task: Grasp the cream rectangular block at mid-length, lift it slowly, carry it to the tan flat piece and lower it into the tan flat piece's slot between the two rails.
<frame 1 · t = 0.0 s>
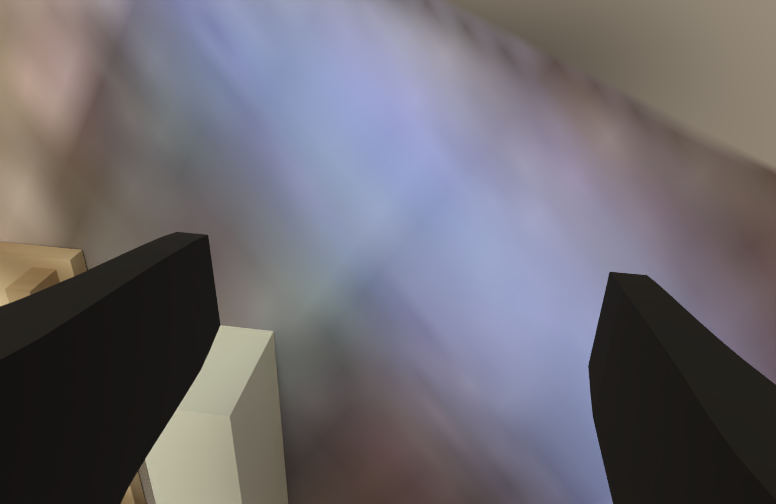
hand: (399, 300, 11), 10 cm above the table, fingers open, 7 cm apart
tan flat piece: (32, 383, 29), on the table
cream rectangular block: (246, 431, 29), on the table
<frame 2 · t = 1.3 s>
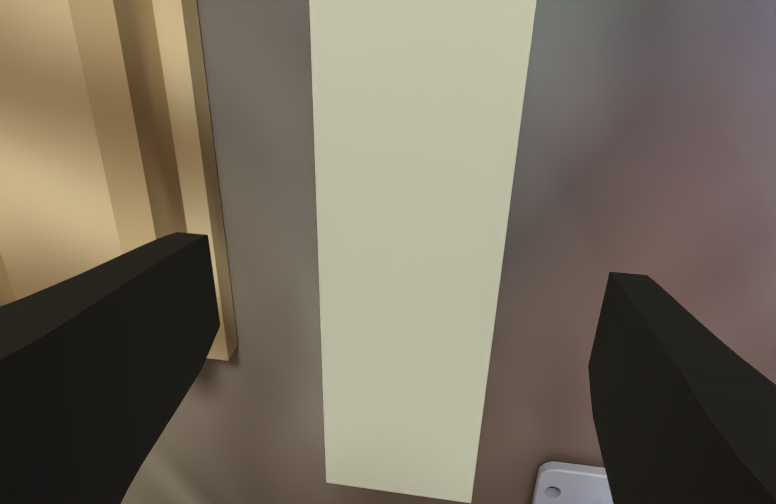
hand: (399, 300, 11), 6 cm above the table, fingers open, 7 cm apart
tan flat piece: (59, 102, 17), on the table
cream rectangular block: (431, 180, 16), on the table
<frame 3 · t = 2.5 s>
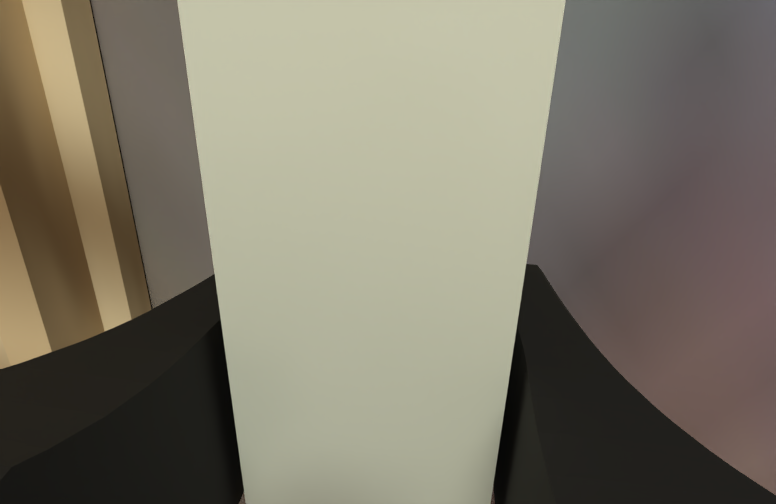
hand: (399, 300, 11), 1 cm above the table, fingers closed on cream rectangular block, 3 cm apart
cream rectangular block: (408, 259, 13), on the table, touching gripper
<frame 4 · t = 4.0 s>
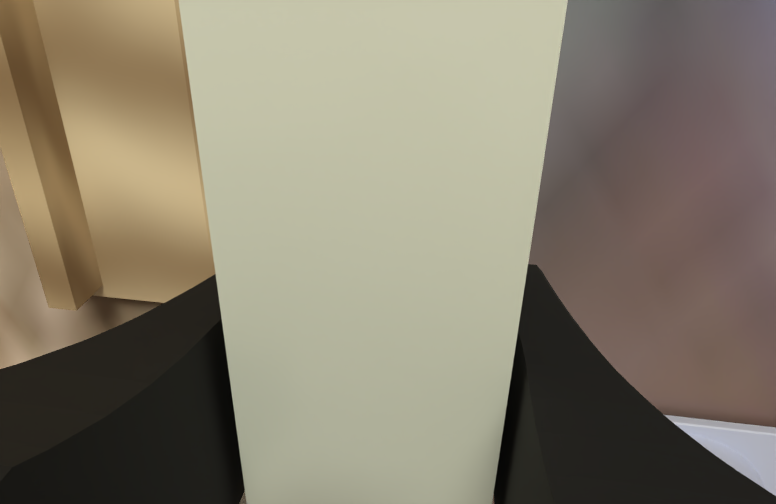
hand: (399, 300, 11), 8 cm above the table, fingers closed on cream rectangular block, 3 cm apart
tan flat piece: (145, 84, 19), on the table
cream rectangular block: (409, 259, 13), point 7 cm above the table, touching gripper
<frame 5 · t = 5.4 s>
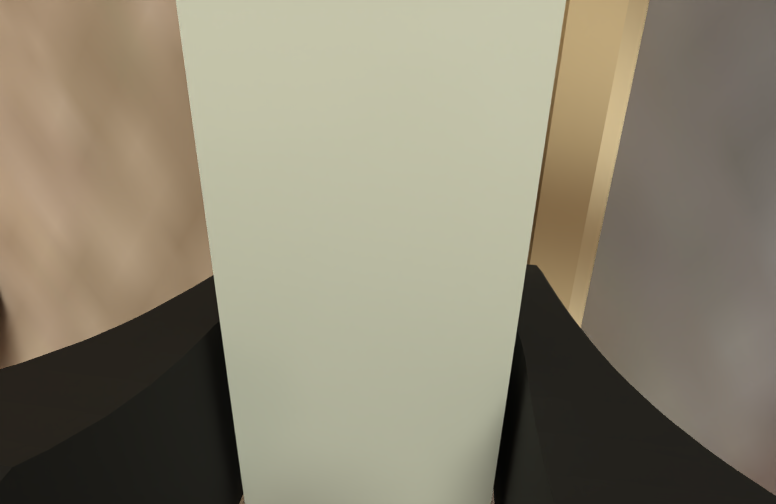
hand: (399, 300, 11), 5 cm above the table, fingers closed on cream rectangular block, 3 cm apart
tan flat piece: (428, 187, 16), on the table
cream rectangular block: (408, 258, 13), point 4 cm above the table, touching gripper
when the fingers open (4 cm above the table, at t = 6.0 s): cream rectangular block drops 2 cm, resting on tan flat piece.
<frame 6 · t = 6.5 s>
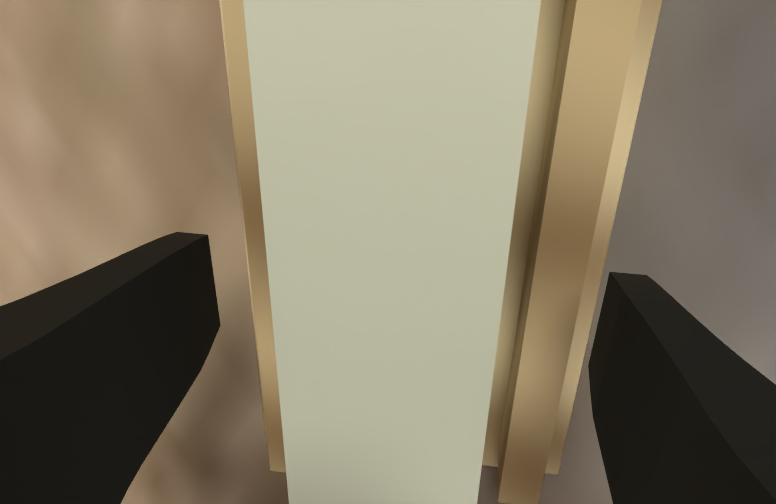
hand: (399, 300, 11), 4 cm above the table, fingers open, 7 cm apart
tan flat piece: (422, 204, 15), on the table
cream rectangular block: (417, 216, 14), point 1 cm above the table, touching tan flat piece
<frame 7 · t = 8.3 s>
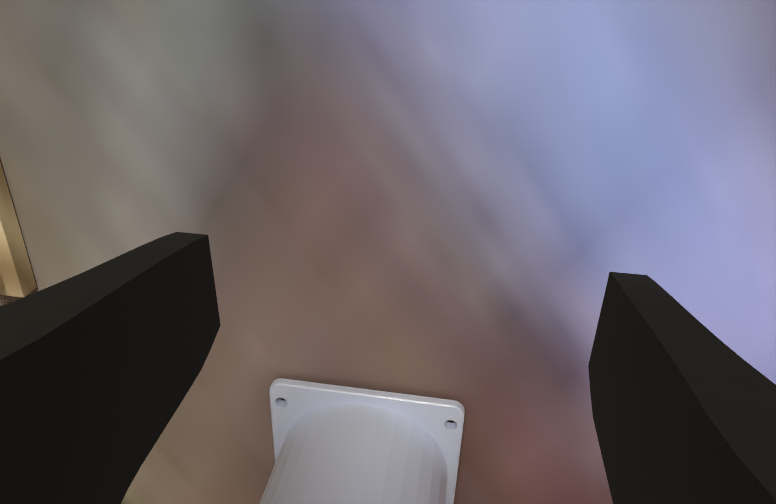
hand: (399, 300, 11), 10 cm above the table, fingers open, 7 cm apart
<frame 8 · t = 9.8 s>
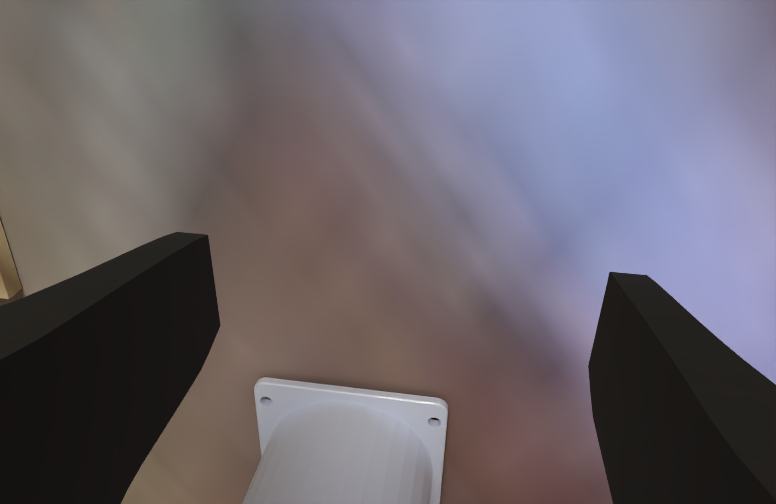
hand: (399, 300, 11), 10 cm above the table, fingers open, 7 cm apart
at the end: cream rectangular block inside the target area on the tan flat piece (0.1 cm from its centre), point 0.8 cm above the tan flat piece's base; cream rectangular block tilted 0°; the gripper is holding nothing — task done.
